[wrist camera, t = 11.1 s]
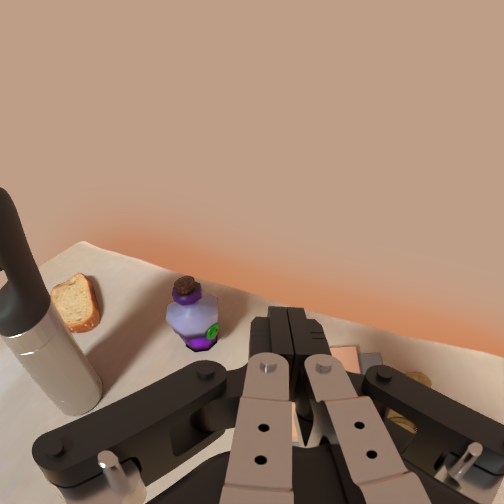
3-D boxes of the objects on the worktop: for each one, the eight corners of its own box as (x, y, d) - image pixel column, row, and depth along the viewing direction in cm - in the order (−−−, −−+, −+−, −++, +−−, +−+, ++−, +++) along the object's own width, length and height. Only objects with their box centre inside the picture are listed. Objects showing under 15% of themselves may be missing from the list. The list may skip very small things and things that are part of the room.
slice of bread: (93, 336, 52) (85, 321, 51) (33, 329, 55) (25, 316, 53) (126, 279, 68) (121, 266, 66) (68, 280, 70) (62, 268, 68)
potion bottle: (216, 364, 45) (200, 305, 39) (167, 353, 48) (144, 297, 41) (234, 325, 52) (222, 266, 46) (188, 318, 55) (171, 262, 48)
